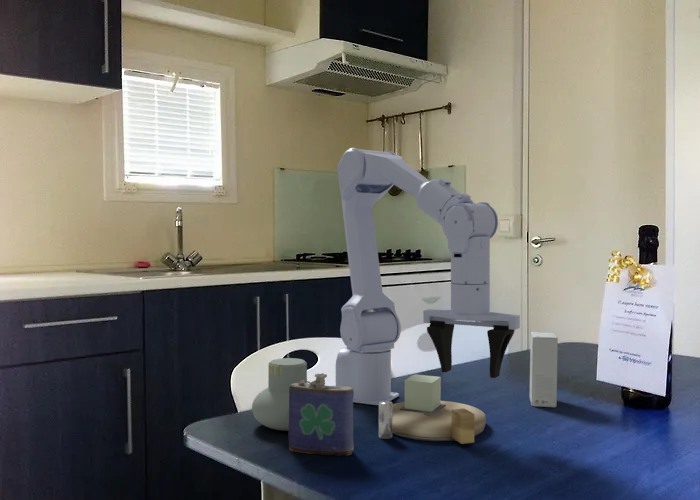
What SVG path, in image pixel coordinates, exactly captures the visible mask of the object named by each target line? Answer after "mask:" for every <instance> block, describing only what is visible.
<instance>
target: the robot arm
mask: <svg viewBox="0 0 700 500" xmlns="http://www.w3.org/2000/svg"><path fill="white" fill-rule="evenodd" d="M336 167H337V168H336V169H337V178H338V185H339V193H340V199H341V208H342V209H341V210H342V216H343V226H344V234H345V241H346V251H347V259H348V267H349V268H348V269H349V275H350V276H349V277H350V286H351V292H352V296H351V297H350V298H349V299H348V301H347V302H346V303H345V304H344V305H342V307H341V308H340V311H341V321H340V328H339V331H340V338H341V340H342V342H343V343H344V345H345V346H346V347H343V348H341V349H340V350H339V351H338V352H337V356H336V360H335V386H348V387H351V388H352V389H353V392H354V396H353V403H356V404H365V405H372V406H379V402H381V401H390V402H392V400H394V399H396V398H397V397H399V396H400V393H398V392H393V391H392V383H391V381H392V373H391V372H392V367H391V365H392V349H395V344H396V343H397V342H398V341H399V339H400V337H401V331H402V327H401V322H400V319H399V317H398V314H397V312H396V307H395V301H393V300H392V299H391V298H389V296H387V295H386V294H385V293H384V292H383V286H382V285H383V284H382V277H381V268H380V260H379V252H378V243H377V235H376V227H375V220H374V211H373V206H374V205H375V203H376V202H377V201H378V200H380V199H382V198H383V197H384V195H385V194H386V193H388V192H389V190H391V188H392V187H394V186H395V187H397V188H399V189H400V190H402V191H404V192H406V193H407V194H409V195H410V196H412V197H413V198H415V199H416V204H417V207H418V209H419V210H420V211H421V212H423V213H424V214H425V215H427V216H428V217H429V218H431V219H432V220H433V221H434V222H437V223H438V224H439V225H441V227H442V231H443V235H445V238H446V239H447V249H448V250H449V253H450V309H433V308H432V309H430V308H429V309H425V310H423V316H422V317H423V319H422V321H423V323H424V324H429V326H426V332H427V334H428V336H429V337H430V339H431V342H432V343H433V346H434V348H435V350H436V353H437V356H438V361H439V365H440V371H441V372H442V373H448V372H450V371H452V365H453V364H452V363H453V361H452V360H453V359H452V357H453V356H452V345H453V336H454V330H455V325H457V326H458V325H459V326H471V327H473V326H474V327H484V328H485V327H486V328H491V329H488V330H487V331H486V332H487V333H486V334H487V339H488V347H489V377H490V379H496V378H498V377H499V376H500V372H501V367H502V363H503V360H504V356H505V353H506V352H507V349H508V346H509V344H510V342H511V340H512V338H513V336H514V334H515V332H516V331H515V330H518V329H521V328H520V327H521V322H520V321H521V318H520V317H521V315H520V314H511V313H502V312H496V311H495V312H494V311H490V305H491V304H490V303H491V302H490V299H491V298H490V296H491V295H490V293H491V292H490V282H491V281H490V280H491V279H490V278H491V276H490V275H491V272H490V271H491V269H490V267H491V266H490V265H491V264H490V262H491V259H490V258H491V252H490V251H491V249H490V248H491V242H490V241H491V239H492V238H493V237H494V235H495V234H496V233H497V230H498V226H499V219H498V213H497V212H496V210H495V209H494V208H493V207H492V206H491V205H490V203H489V202H485V201H482V202H481V201H479V202H477V203H475V202H474V201H473V200H472V199H471V198H472V196H471V195H469V194H468V193H461V192H460V191H459V190H457V189H455V188H454V187H453V186H451V184H452V181H450V180H449V179H448V178H435V179H431V180H429V179H427V178H426V177H425V176H424V175H422V174H421V173H419V171H417V170H416V169H415V168H414V167H412V166H411V165H410V164H408V163H407V162H406V161H404V157H403V156H402V155H397V154H396V153H395V152H394V151H390V150H389V151H381V150H380V151H379V150H370V149H359V148H356V147H350V148H347V149H346V150H345V151H344V153H343V154H342V156H341V158H340V160H339V162H338V164H337V166H336ZM368 310H372V311H368ZM363 311H366V312H363ZM367 311H368V312H367ZM492 328H493V329H492Z"/></svg>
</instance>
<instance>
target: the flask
mask: <svg viewBox="0 0 700 500" xmlns="http://www.w3.org/2000/svg"><path fill="white" fill-rule="evenodd" d="M327 376H328V375H327V373H315V374H314V377H315V380H313V381H309V380H307V383H304V382H305V380H303V381H301V382H299V383H294V384H291V385H290V388H289V431H288V432H287V433H288V450H289V451H291V452H297V453H302V454H303V453H305V454H311V455H312V454H314V455H316V454H319V455H321V456H322V455H325V456H340V457H341V456H350V455H353V452H354V402H353V396H354V392H353V389H352V388H351V387H348V386H336V385H326V382H325V381H326V380H325V379H326V378H327Z"/></svg>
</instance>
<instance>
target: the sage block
mask: <svg viewBox="0 0 700 500" xmlns="http://www.w3.org/2000/svg"><path fill="white" fill-rule="evenodd" d="M441 378H442V377H441V376H434V375H424V374H416V373H415V374H412V375H411V376H408V377H407V378H405V379H404V402H405V408H406V409H414V410H422V411H430V412H432V411H433V410H435V409H436V408H437V407H438V406H440V405H441V401H442V400H441V398H442V397H441V396H442V395H441V391H442V390H441V387H442V384H441V383H442V382H441V381H442V379H441Z"/></svg>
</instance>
